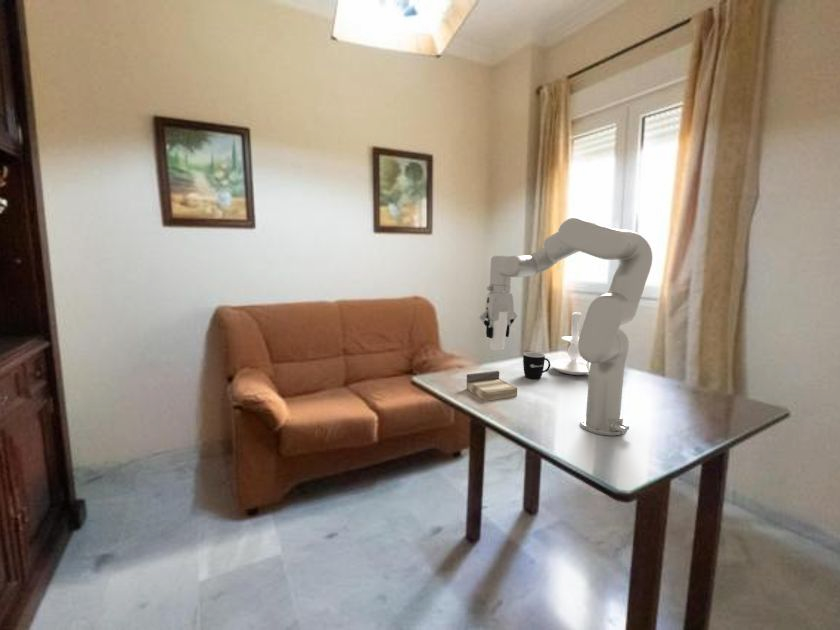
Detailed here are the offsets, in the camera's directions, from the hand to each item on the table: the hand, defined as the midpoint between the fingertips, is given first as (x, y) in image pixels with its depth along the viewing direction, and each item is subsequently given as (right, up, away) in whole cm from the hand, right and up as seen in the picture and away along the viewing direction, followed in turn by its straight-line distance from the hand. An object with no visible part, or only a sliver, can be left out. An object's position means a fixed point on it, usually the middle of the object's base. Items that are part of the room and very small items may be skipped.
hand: (497, 336), depth 152 cm
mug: (+22, -19, +24) cm, 38 cm away
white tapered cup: (0, -5, +1) cm, 5 cm away
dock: (-2, -22, +4) cm, 22 cm away
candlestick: (+41, -18, +30) cm, 54 cm away
